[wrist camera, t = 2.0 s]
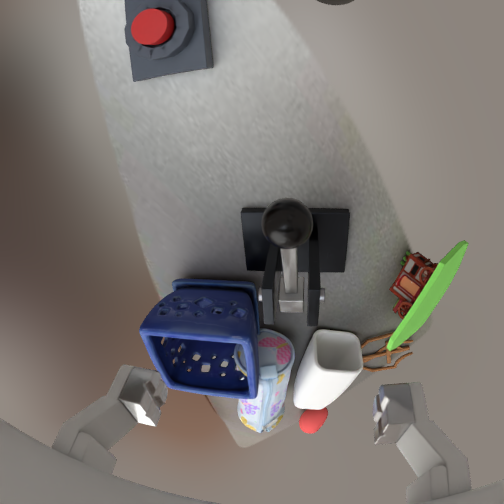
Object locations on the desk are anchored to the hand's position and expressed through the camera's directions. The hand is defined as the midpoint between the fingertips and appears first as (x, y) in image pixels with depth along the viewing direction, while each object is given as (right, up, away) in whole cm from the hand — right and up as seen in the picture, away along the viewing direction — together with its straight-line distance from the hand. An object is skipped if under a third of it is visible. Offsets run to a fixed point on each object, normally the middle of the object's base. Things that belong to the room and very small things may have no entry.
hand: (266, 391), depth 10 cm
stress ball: (+14, -32, +46) cm, 58 cm away
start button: (-9, +25, +12) cm, 30 cm away
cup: (+9, -20, +40) cm, 46 cm away
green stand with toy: (+21, 0, +22) cm, 31 cm away
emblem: (+20, -12, +35) cm, 42 cm away
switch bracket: (+5, +7, +26) cm, 28 cm away
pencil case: (+2, -14, +41) cm, 43 cm away
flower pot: (-5, -2, +34) cm, 35 cm away
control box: (-9, +28, +15) cm, 32 cm away
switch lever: (+3, +5, +14) cm, 16 cm away
